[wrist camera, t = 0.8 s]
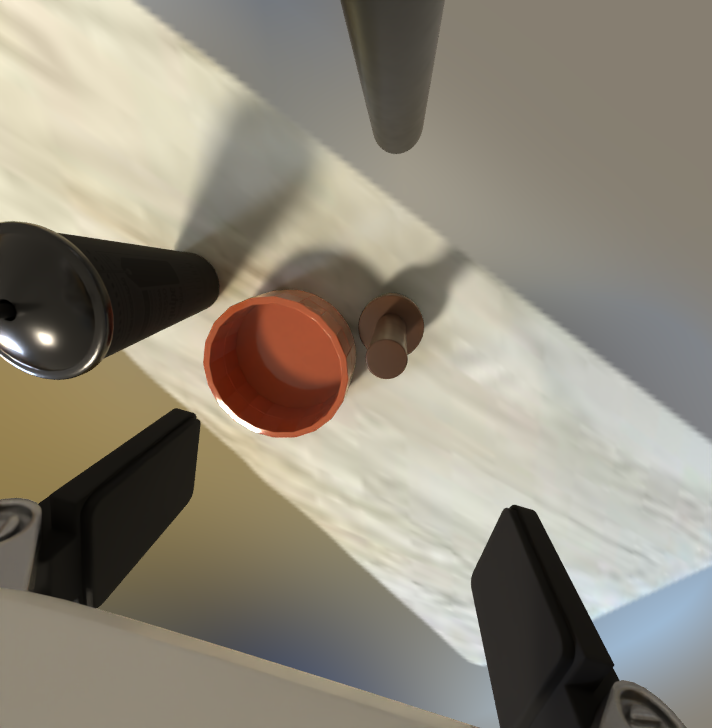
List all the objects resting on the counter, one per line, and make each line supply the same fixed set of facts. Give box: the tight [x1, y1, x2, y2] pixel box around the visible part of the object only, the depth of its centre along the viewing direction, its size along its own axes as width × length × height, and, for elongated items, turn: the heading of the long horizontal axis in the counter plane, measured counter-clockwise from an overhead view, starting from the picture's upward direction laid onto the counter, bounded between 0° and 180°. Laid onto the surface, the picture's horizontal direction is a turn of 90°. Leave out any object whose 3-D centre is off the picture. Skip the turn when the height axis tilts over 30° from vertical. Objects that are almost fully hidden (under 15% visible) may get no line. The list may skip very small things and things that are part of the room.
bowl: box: [203, 289, 356, 437], centre depth 28 cm, size 11×11×5 cm
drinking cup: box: [0, 221, 219, 380], centre depth 20 cm, size 8×8×20 cm
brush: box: [358, 293, 424, 379], centre depth 23 cm, size 5×5×11 cm
